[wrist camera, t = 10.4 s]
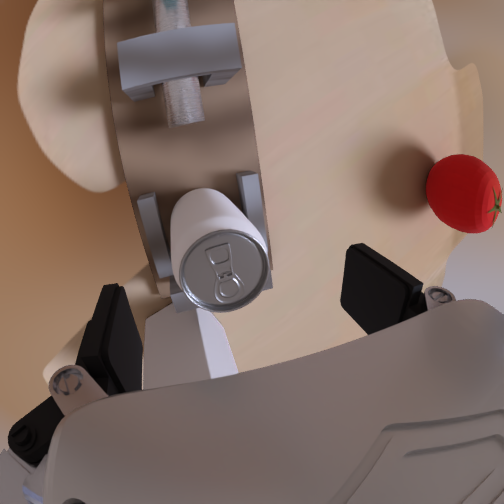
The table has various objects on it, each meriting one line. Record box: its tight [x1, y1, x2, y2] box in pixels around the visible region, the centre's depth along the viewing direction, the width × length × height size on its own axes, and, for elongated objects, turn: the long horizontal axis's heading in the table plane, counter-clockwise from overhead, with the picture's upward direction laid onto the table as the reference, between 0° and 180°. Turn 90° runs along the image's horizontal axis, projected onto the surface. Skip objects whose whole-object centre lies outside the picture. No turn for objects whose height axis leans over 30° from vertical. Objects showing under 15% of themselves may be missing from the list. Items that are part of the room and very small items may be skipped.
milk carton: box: [143, 303, 239, 390], centre depth 25 cm, size 7×7×19 cm
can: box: [170, 188, 270, 313], centre depth 22 cm, size 6×6×12 cm
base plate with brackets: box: [103, 0, 273, 313], centre depth 21 cm, size 35×13×8 cm, turn 8°
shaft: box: [152, 0, 205, 128], centre depth 16 cm, size 17×5×8 cm, turn 8°
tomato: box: [426, 154, 502, 233], centre depth 30 cm, size 11×11×13 cm
